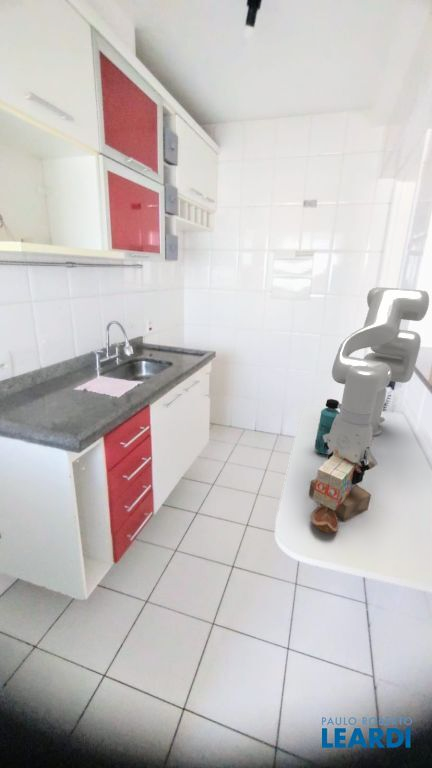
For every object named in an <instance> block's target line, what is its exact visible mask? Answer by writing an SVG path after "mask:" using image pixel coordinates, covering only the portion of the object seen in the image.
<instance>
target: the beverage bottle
mask: <svg viewBox="0 0 432 768" xmlns="http://www.w3.org/2000/svg"><path fill="white" fill-rule="evenodd" d="M338 404H340V401H339V400H337V399H333V398H328V399H327V400H326V403H325V408H323V409H321V411H320V415H319V417H320V418H319V423H318V426H317V430H316V432H317V433H316V437H315V441H314V449H315V451H316V452H318V453H320V454H324V455H328V453H327V448H326V446H325V442H324V439H323V435H325V434H329V433H330V430H331V427H332V424H333V421H334V419H335V417H336V415H337V414H340V411H339V410H338V409H339V408H338Z"/></svg>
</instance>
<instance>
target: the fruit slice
mask: <svg viewBox="0 0 432 768" xmlns="http://www.w3.org/2000/svg"><path fill="white" fill-rule="evenodd" d="M310 521H311V522H312V525H313V526H314V527H316V528H317V529H318V530H320V531H322V532H325V533H329V534H334V533H336V532H338V531H339V527H340V525H339V519H338V518H337V516H336V514H335V511H334V510H333V509H331V508H329V507H327V506H325V505H323V504H322V505H320V504H319V506H318V507H316V508H315V509H314V510H313V512H312V514H311V516H310Z"/></svg>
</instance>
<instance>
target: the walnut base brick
mask: <svg viewBox="0 0 432 768" xmlns="http://www.w3.org/2000/svg"><path fill="white" fill-rule="evenodd" d="M316 479H317V477H316V478H314V479H312V480H311V481H310V487H309V490H308V491H309V493H308V496H309V497H310V498H311V499H313V494H314V488H315V482H316ZM371 497H372V494H371V492H368V491H367V490H365V489H364V488H363V487H360V486H359V485H357V484H356V485H355V486H354V487H353V489H352V490H351V491H350V493H349V494H348V496H347V497H346V498H345V499H344V501H343V502H342V503H341V504H340V505H339V506H338V508H337V509H336V510H334V511H335V514H336V516H337V519H338V520H339V521H341V522H342V523H344V522H346V521H348V520H350V519H352V518H354V517H357V516H358V515H360V514H362V513H364V512H366V511H368V510H369V507H370V501H371ZM317 503H318V504H319V506H320V505H322V504H321V503H319V502H317Z"/></svg>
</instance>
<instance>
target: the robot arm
mask: <svg viewBox="0 0 432 768" xmlns="http://www.w3.org/2000/svg"><path fill="white" fill-rule="evenodd" d="M366 302H367V307H368V311H367V314H366V318H365V320H364V324H363V327H361V328H359V329H357V330H356V331H354V332H352V333H351V334H350V335H348V336H347V337H346V338H345V339H344V340H343V341H342V343H341V344H340V346H339V348H338V350H337V354H336V356H335V358H334V362H333V364H332V369H331V377H332V379H333V380H334V381H335V382H336V383H338V384H341V385H344V388H343V393H342V397H341V398H342V399H341V403H339V404H338V409H339V413H340V414H337V415H336V417H335V419H334V421H333V424H332V427H331V430H330V433H329V434H325V435H323V439H324V442H325V446H326V448H327V453H328V454H327V460H328V459H329V458H330V457H331V456H332V455H333V451H334V447H335V445H337V446H338V447H339V448H338V454H339V455H341V456H342V457H344V458H345V459H347V460H349V461H351V462H353V463H355V467H356V470H355V471H354V473H353V477H352V482H351V483H352V484H353V485H355V484H356V485H357V484H359V483H362V482H363V480H364V476H365V474H364V471H365V472H368V471H369V470H371V469H373V468H375V467H376V466H378V465H379V463H378V461H377V460H376V458H375V456H374V455H373V453H372V452H371V449H372V444H373V443H372V442H373V439H372V437H375V436H376V437H377V436H379V435H381V434H382V431H383V429H382V428H381V426H380V424H381V423H383V422H385V421H386V420H385V418H384V417H383V416H382V412H383V408H384V403H385V399H386V395H387V388H386V387H388V386H389V384H390V383H391V382H395V383H403V384H404V383H407V382H410V381H411V379H412V377H413V375H414V371H415V369H416V368H415V367H416V364H417V361H418V355H419V352H420V348H421V342H422V341H421V336H420V334H419V333H418V332H417V331H412V330H405V329H400V328H401V327H400V326H401V322H402V320H404V321H413V322H420V321H422V320H423V319H424V318H425V316H426V315H427V311H428V308H429V305H430V297H429V293H428V292H427V291H426V290H421V289H420V290H419V289H411V288H410V289H408V288H396V287H381V286H380V287H377V286H376V287H373V288H371V289H370V290H368V293H367V298H366ZM367 348H370V350H371V352H370V353H367V354H366V355H365V356H364V357H363V358H360V357H355V356H354V357H353V356H351V354H352V353H355V352H357V351H359V350H362V349H367ZM365 460H367V465H366V461H365ZM360 463H361V466H360ZM363 475H364V476H363Z"/></svg>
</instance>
